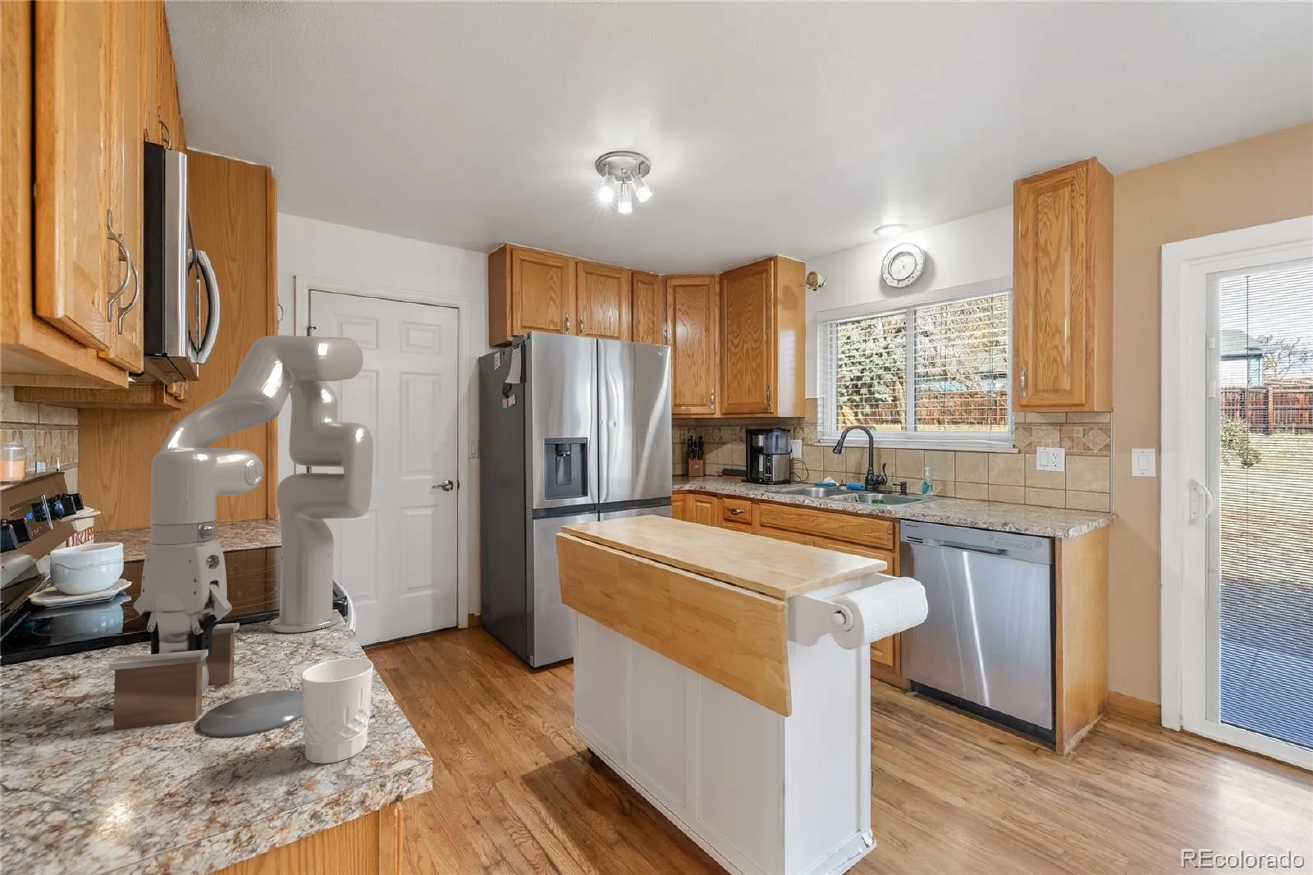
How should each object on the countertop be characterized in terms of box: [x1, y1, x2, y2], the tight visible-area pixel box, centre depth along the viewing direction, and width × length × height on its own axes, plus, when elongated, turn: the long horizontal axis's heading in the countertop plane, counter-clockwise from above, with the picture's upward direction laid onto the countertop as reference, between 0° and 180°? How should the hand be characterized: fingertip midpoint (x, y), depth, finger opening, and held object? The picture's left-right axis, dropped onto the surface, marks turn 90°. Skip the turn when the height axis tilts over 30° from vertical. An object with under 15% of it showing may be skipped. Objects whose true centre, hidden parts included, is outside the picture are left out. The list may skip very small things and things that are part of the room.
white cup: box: [301, 657, 374, 765], centre depth 73 cm, size 8×8×10 cm
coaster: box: [199, 689, 303, 738], centre depth 82 cm, size 13×13×1 cm
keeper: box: [108, 622, 240, 731], centre depth 86 cm, size 16×10×9 cm, turn 20°
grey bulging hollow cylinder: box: [155, 593, 209, 696], centre depth 86 cm, size 6×7×20 cm
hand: (181, 656), depth 86 cm, fingers closed on grey bulging hollow cylinder, 5 cm apart
